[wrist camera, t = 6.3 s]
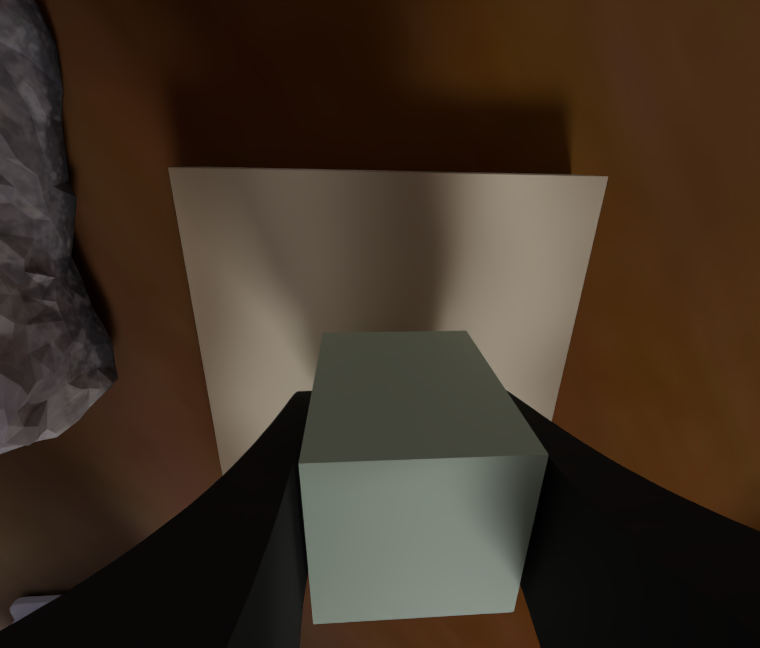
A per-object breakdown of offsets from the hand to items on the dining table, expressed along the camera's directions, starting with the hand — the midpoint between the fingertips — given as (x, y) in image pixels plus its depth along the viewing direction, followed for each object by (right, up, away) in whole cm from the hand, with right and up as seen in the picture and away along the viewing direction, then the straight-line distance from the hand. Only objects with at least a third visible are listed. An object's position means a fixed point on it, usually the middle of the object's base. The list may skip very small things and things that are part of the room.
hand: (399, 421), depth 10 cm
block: (0, 0, +1) cm, 2 cm away
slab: (0, +2, +5) cm, 5 cm away
